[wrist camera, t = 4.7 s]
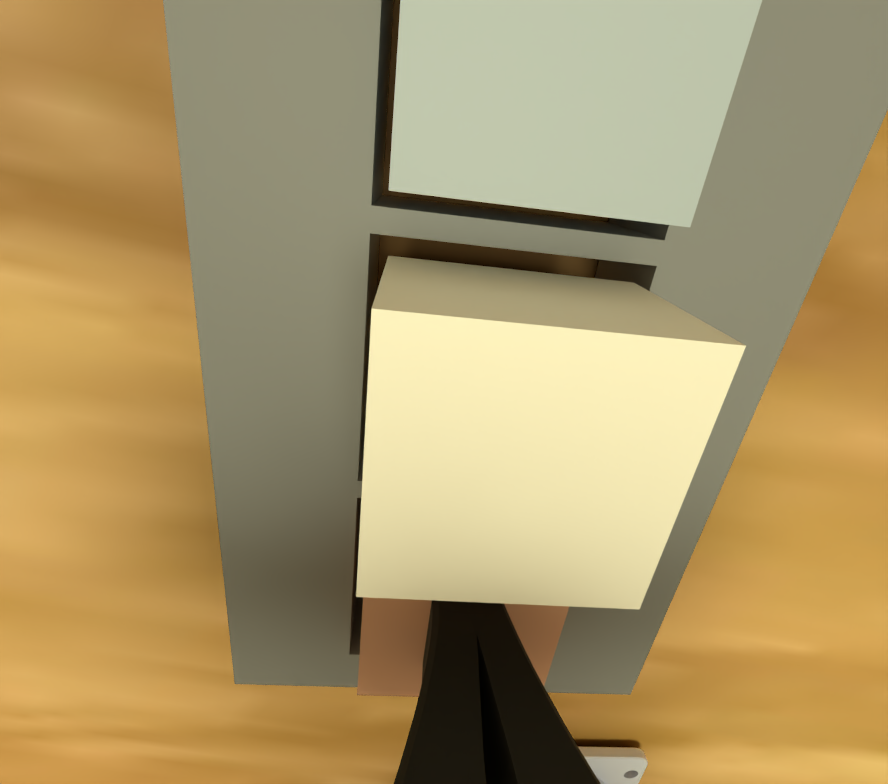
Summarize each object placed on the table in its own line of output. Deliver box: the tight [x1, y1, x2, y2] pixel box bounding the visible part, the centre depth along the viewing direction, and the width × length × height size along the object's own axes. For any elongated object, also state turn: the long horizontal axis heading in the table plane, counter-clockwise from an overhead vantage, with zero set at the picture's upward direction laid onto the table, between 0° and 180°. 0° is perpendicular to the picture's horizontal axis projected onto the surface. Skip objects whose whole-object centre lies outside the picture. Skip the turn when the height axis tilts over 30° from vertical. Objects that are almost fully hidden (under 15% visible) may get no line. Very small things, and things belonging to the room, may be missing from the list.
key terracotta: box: [357, 597, 569, 697], centre depth 11 cm, size 4×4×3 cm
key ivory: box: [356, 256, 746, 609], centre depth 7 cm, size 4×4×3 cm
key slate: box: [389, 0, 762, 227], centre depth 7 cm, size 4×4×3 cm
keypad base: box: [163, 0, 888, 695], centre depth 10 cm, size 17×10×2 cm, turn 173°
